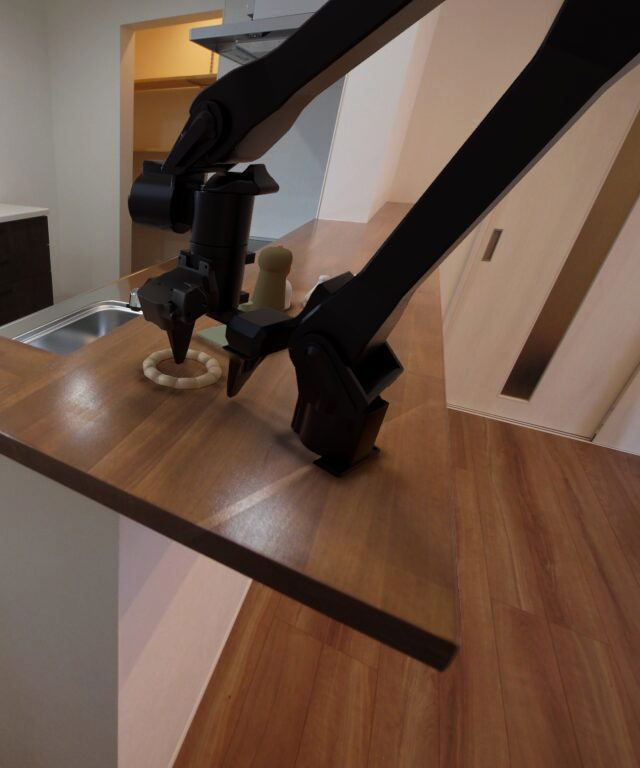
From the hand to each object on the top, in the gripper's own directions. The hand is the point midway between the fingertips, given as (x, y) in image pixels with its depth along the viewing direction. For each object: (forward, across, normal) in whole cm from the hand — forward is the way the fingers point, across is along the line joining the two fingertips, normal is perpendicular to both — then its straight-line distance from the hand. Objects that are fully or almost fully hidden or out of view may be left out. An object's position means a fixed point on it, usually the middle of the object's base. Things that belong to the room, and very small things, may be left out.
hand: (203, 378), depth 50 cm
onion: (+2, -24, +39) cm, 46 cm away
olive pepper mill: (+2, -13, +25) cm, 28 cm away
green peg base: (+1, -7, +13) cm, 15 cm away
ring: (0, -4, 0) cm, 4 cm away
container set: (+2, -11, +36) cm, 38 cm away
